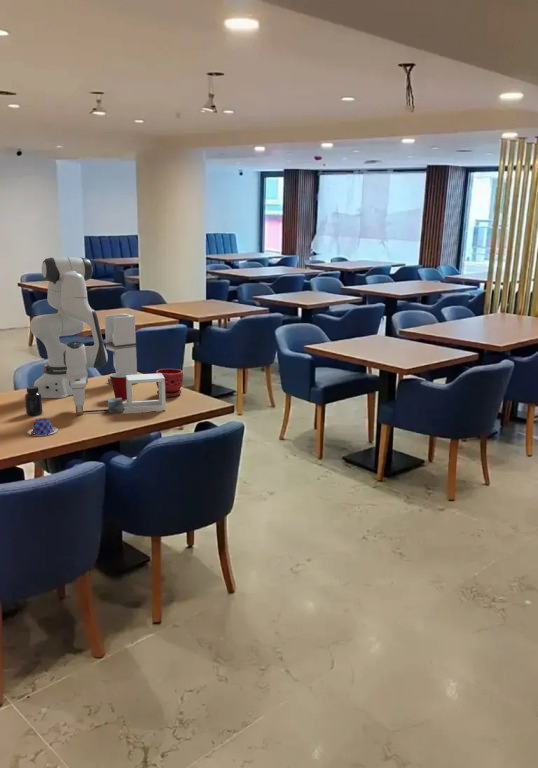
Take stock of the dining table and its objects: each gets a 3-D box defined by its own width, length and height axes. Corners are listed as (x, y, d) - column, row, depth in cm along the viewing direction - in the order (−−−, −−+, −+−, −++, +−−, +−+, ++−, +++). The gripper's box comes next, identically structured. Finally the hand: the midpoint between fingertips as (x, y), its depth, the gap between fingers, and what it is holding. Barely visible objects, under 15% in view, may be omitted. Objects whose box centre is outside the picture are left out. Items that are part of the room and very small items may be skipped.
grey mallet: (76, 415, 300) (75, 404, 298) (75, 411, 305) (75, 400, 304) (123, 412, 305) (122, 401, 304) (121, 408, 311) (121, 397, 310)
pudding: (20, 434, 275) (19, 422, 274) (41, 426, 286) (40, 414, 285) (44, 439, 271) (43, 426, 270) (64, 430, 281) (63, 418, 280)
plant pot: (181, 398, 329) (181, 373, 326) (154, 398, 329) (153, 373, 326) (184, 391, 342) (184, 367, 339) (158, 391, 342) (157, 367, 339)
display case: (127, 379, 364) (125, 313, 356) (137, 383, 356) (134, 316, 348) (107, 382, 357) (104, 315, 349) (117, 386, 349) (114, 318, 341)
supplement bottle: (46, 412, 304) (44, 386, 301) (36, 416, 298) (34, 390, 295) (33, 411, 307) (30, 384, 304) (22, 415, 300) (20, 388, 297)
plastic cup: (136, 395, 333) (135, 371, 330) (129, 401, 322) (128, 376, 319) (114, 395, 334) (113, 370, 331) (107, 401, 323) (105, 376, 320)
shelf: (124, 413, 304) (123, 380, 300) (122, 407, 313) (121, 375, 309) (165, 410, 309) (164, 378, 305) (162, 404, 318) (161, 373, 314)
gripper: (69, 374, 308) (71, 404, 311) (70, 385, 289) (72, 417, 292) (83, 373, 310) (85, 403, 313) (86, 384, 291) (87, 416, 294)
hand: (79, 410), depth 303 cm, fingers closed on grey mallet, 3 cm apart
